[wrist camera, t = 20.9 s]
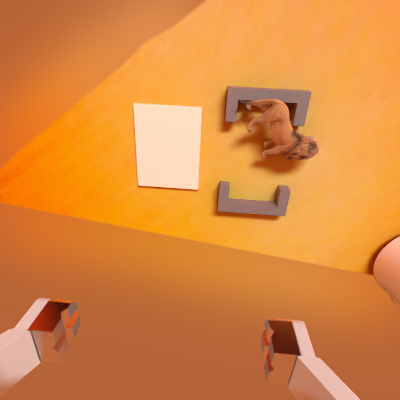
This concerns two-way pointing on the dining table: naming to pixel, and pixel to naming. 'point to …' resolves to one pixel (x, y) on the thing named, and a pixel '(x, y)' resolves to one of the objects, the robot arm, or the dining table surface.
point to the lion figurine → (282, 131)
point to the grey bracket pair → (233, 95)
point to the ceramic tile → (168, 145)
